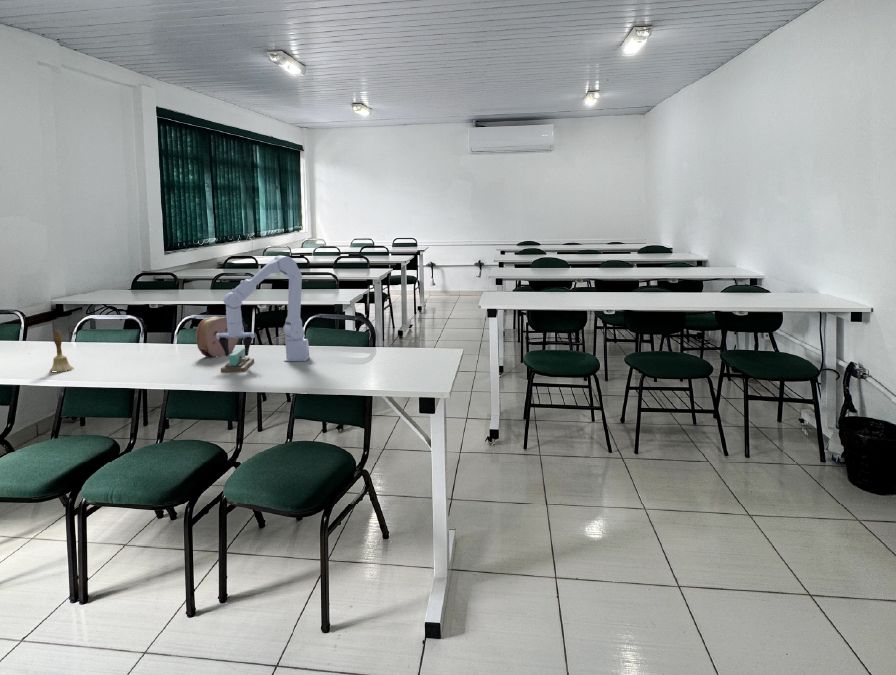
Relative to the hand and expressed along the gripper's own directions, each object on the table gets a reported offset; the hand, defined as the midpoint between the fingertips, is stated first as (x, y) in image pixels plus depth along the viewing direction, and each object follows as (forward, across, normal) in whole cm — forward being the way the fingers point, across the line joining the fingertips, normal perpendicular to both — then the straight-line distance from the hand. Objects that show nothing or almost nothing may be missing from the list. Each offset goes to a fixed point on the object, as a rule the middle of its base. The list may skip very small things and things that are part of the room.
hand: (237, 355), depth 241 cm
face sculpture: (+5, -15, +25) cm, 30 cm away
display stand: (+5, 0, 0) cm, 5 cm away
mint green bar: (+2, 0, 0) cm, 2 cm away
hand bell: (+5, -70, +2) cm, 70 cm away
